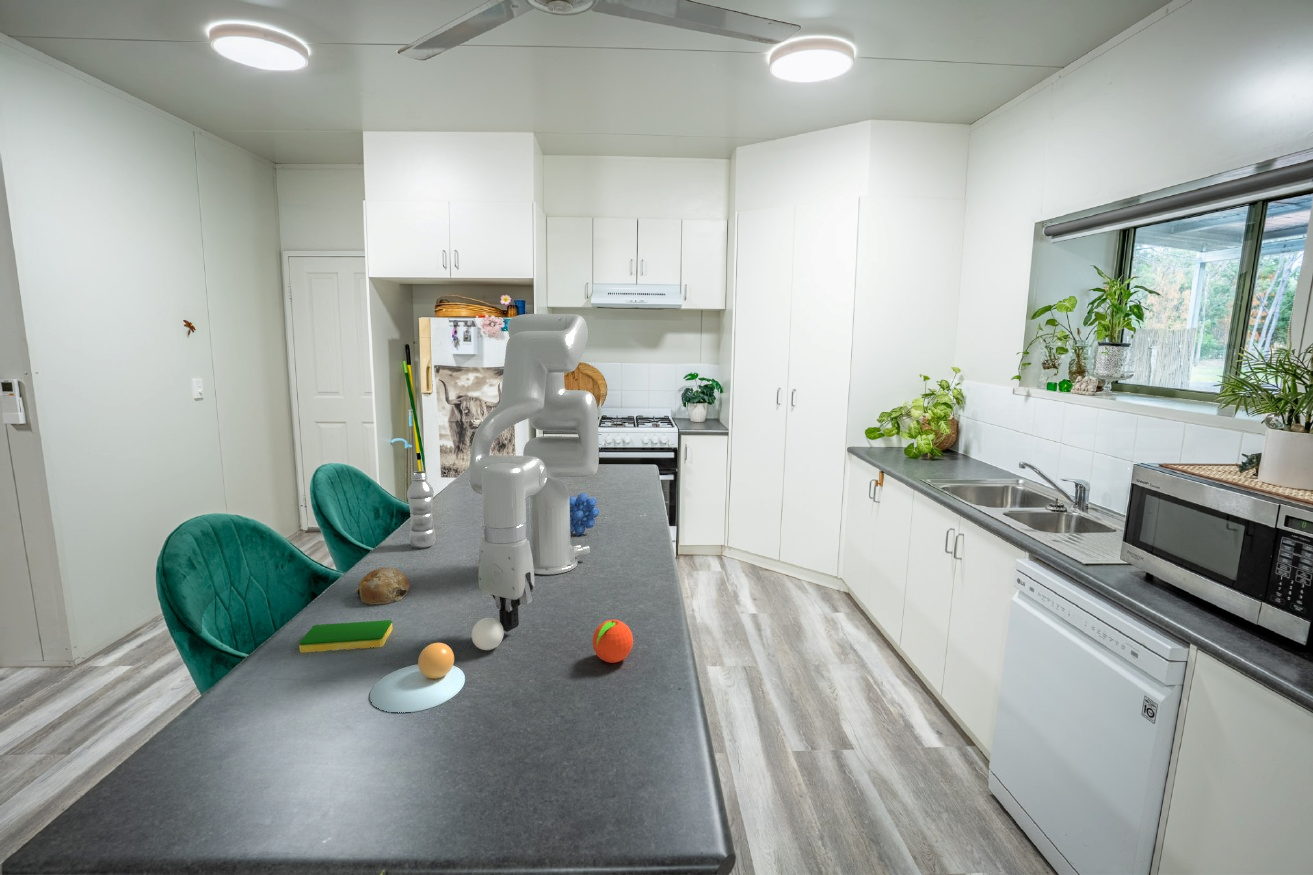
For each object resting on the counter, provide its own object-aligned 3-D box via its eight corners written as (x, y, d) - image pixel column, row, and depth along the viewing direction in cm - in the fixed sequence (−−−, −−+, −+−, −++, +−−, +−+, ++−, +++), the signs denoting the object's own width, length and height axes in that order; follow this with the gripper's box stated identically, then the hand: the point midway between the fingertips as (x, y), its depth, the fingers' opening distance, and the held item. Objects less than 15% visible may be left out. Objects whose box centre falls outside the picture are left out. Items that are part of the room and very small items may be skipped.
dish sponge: (315, 636, 115) (313, 624, 115) (393, 631, 117) (392, 619, 117) (299, 655, 108) (298, 642, 108) (382, 649, 110) (381, 636, 110)
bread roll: (383, 624, 127) (395, 592, 126) (341, 600, 128) (353, 568, 127) (411, 604, 137) (423, 574, 135) (372, 582, 138) (383, 552, 136)
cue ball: (471, 617, 107) (464, 650, 106) (503, 623, 107) (496, 655, 106) (479, 612, 112) (472, 643, 112) (509, 618, 112) (502, 648, 112)
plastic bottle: (413, 542, 167) (409, 470, 164) (439, 542, 167) (435, 469, 164) (406, 550, 160) (401, 475, 157) (433, 550, 161) (428, 474, 158)
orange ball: (436, 630, 101) (410, 655, 97) (462, 649, 100) (437, 675, 96) (435, 646, 105) (410, 671, 101) (460, 665, 103) (436, 691, 100)
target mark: (455, 656, 107) (455, 655, 107) (473, 696, 95) (473, 695, 95) (366, 677, 100) (366, 675, 100) (373, 723, 88) (373, 722, 88)
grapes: (598, 529, 178) (597, 488, 177) (600, 536, 172) (599, 494, 170) (557, 531, 177) (556, 490, 175) (558, 538, 170) (556, 496, 168)
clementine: (613, 677, 100) (613, 636, 99) (580, 666, 104) (579, 626, 103) (641, 656, 107) (640, 617, 106) (608, 646, 110) (608, 608, 109)
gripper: (460, 531, 112) (465, 626, 115) (521, 545, 104) (525, 646, 107) (491, 520, 118) (495, 611, 121) (551, 533, 111) (554, 629, 114)
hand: (509, 627), depth 114 cm, fingers closed
